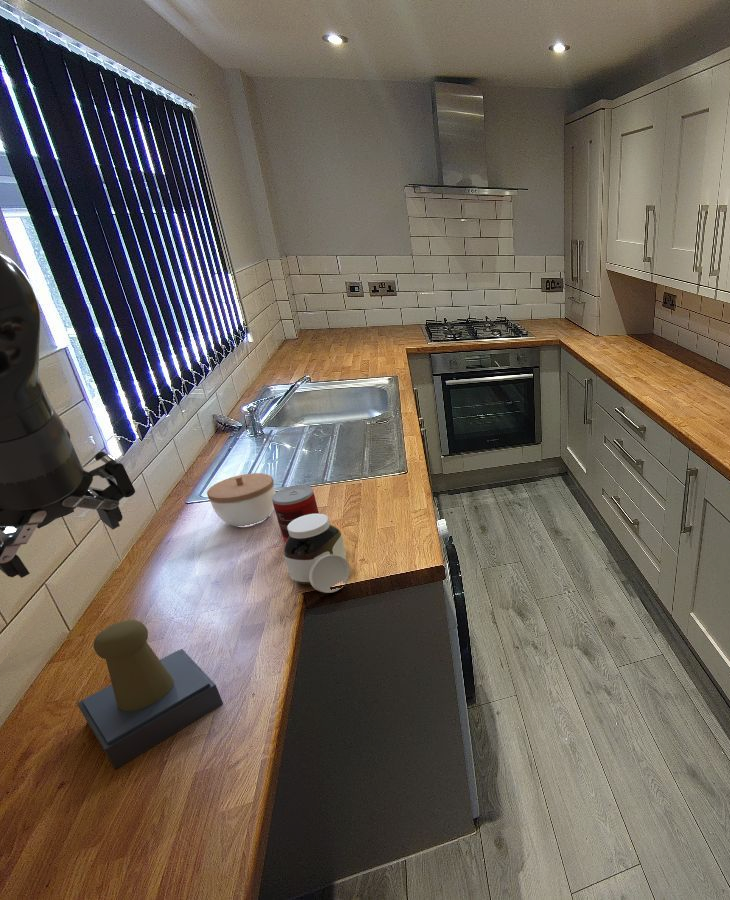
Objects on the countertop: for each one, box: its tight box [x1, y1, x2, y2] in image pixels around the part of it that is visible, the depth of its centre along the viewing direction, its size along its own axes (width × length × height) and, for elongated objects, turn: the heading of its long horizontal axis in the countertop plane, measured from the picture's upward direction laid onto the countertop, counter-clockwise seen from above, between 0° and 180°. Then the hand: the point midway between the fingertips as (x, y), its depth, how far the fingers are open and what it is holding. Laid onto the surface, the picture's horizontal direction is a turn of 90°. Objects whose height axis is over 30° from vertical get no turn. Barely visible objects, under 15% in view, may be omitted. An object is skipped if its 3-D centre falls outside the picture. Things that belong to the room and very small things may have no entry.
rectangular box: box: [76, 648, 224, 771], centre depth 72 cm, size 12×12×4 cm
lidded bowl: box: [206, 472, 277, 527], centre depth 119 cm, size 13×13×11 cm
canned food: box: [272, 484, 320, 544], centre depth 112 cm, size 8×8×11 cm
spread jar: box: [283, 513, 351, 594], centre depth 98 cm, size 12×11×12 cm
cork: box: [92, 619, 174, 711], centre depth 69 cm, size 6×6×11 cm
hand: (67, 546), depth 59 cm, fingers open, 8 cm apart
